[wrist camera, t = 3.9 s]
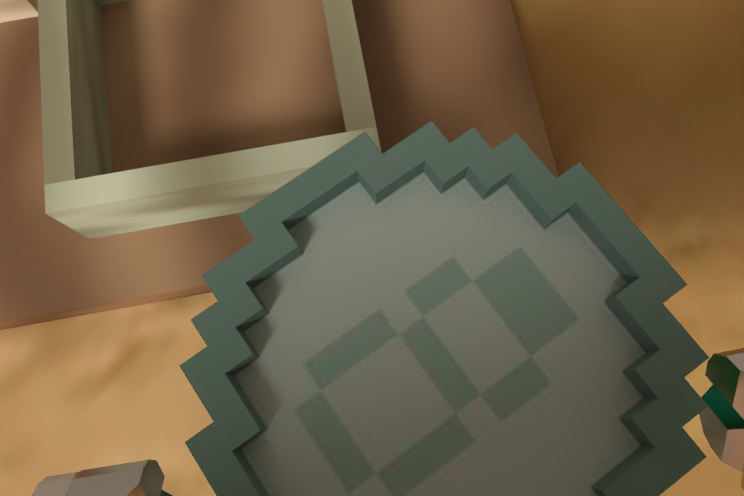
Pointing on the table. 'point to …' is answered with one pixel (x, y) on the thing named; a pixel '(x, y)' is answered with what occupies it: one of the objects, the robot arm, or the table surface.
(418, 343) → the can
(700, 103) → the table surface
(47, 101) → the jig
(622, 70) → the table surface
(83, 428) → the table surface
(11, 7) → the block
